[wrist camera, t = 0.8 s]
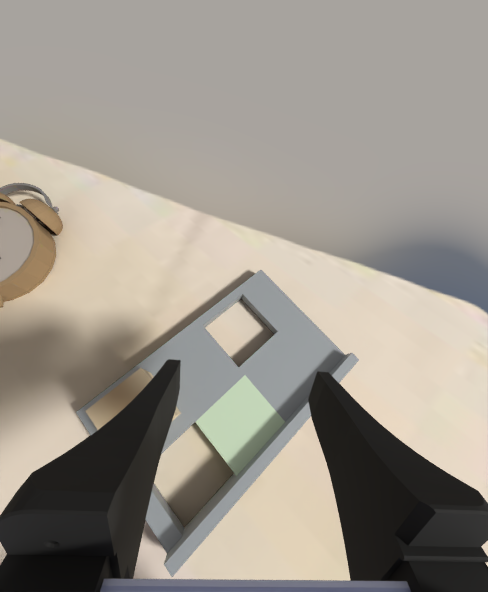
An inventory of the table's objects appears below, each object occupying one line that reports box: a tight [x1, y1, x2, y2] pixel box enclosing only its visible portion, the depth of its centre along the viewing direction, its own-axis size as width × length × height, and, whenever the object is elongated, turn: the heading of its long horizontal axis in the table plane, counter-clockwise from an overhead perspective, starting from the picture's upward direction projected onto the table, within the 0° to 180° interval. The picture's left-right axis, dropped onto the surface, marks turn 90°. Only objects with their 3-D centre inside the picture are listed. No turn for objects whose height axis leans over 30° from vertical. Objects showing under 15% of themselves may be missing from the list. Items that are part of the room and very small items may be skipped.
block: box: [86, 368, 181, 430], centre depth 22 cm, size 5×5×4 cm
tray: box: [76, 270, 359, 577], centre depth 26 cm, size 24×15×3 cm, turn 132°
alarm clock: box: [0, 183, 63, 307], centre depth 29 cm, size 11×5×15 cm
